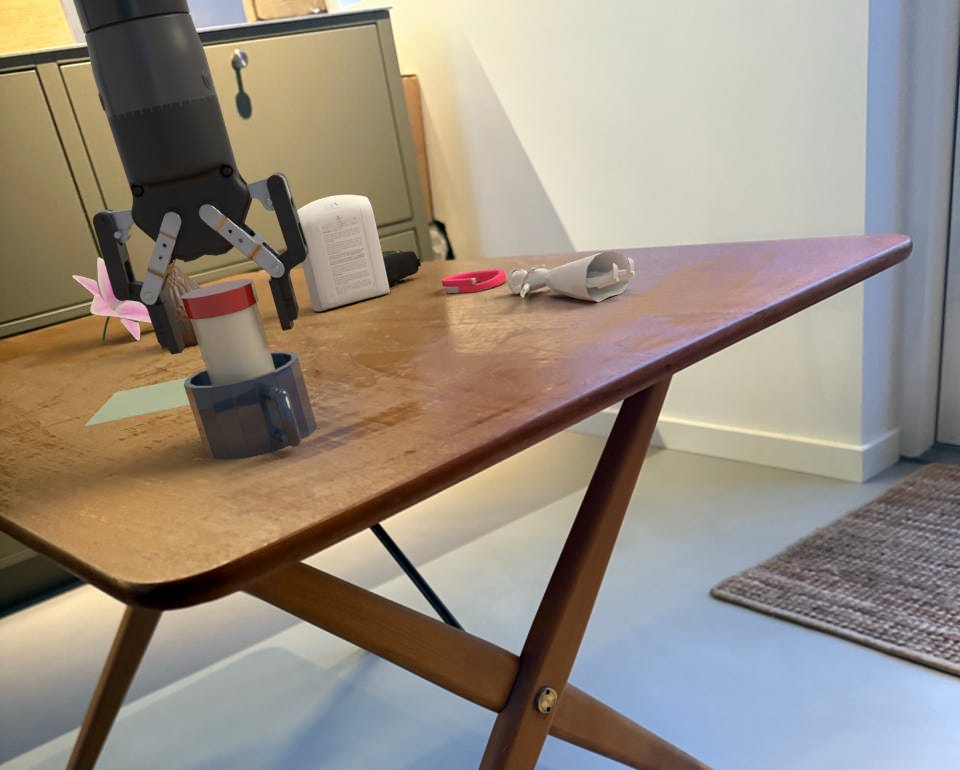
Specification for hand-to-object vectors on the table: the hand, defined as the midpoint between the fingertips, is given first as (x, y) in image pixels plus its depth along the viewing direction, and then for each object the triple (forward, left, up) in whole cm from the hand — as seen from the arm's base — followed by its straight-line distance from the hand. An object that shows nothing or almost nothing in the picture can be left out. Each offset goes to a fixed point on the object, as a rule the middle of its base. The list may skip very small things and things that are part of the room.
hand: (233, 340), depth 77 cm
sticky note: (-12, +22, -8) cm, 26 cm away
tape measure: (+10, +62, -8) cm, 63 cm away
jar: (0, 0, -8) cm, 8 cm away
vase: (-15, +50, -8) cm, 53 cm away
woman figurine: (+29, +32, -8) cm, 44 cm away
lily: (-26, +63, -8) cm, 69 cm away
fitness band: (+20, +48, -8) cm, 53 cm away
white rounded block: (+5, +55, -8) cm, 56 cm away
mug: (+1, -1, -8) cm, 8 cm away
